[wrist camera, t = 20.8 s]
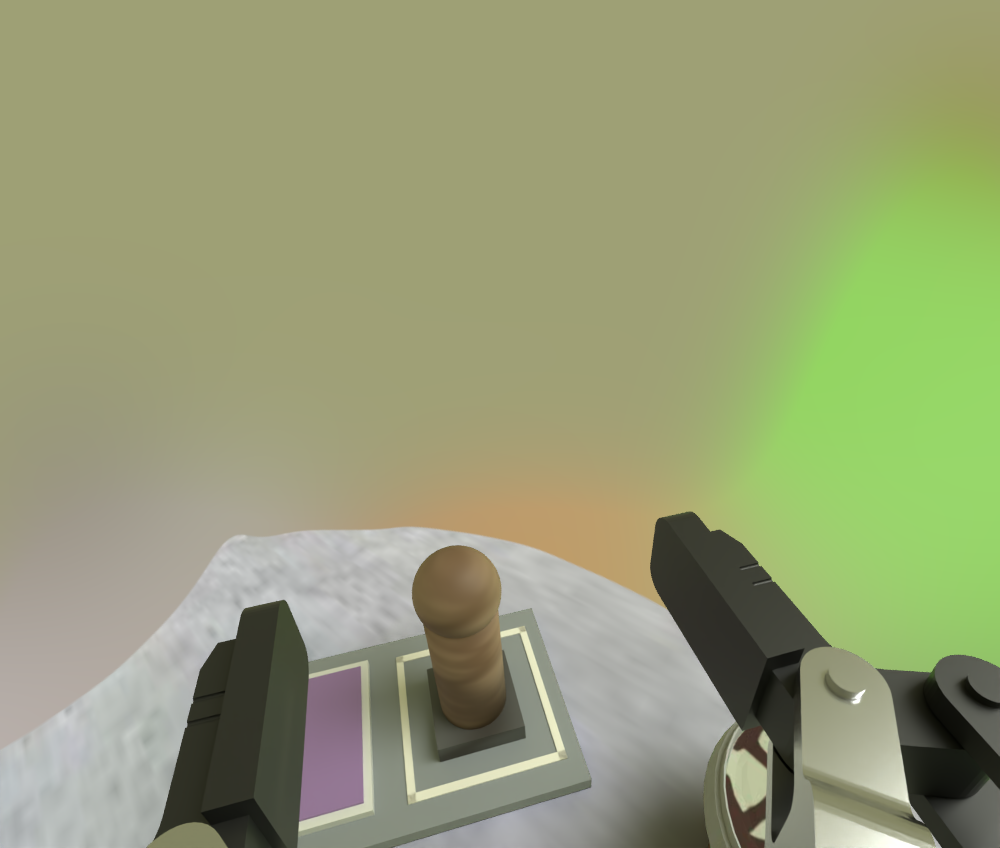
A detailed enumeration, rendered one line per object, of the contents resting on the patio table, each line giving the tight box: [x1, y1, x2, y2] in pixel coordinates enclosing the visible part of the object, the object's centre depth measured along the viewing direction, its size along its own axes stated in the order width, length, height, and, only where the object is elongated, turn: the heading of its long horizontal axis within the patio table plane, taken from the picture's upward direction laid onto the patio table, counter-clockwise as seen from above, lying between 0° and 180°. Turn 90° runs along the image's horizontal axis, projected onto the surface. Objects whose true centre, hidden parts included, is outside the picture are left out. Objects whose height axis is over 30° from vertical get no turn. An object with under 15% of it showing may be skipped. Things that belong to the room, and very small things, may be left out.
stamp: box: [412, 545, 526, 762], centre depth 33 cm, size 6×6×14 cm
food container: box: [703, 722, 770, 848], centre depth 27 cm, size 12×6×10 cm, turn 137°
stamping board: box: [297, 608, 592, 848], centre depth 36 cm, size 24×13×2 cm, turn 103°
